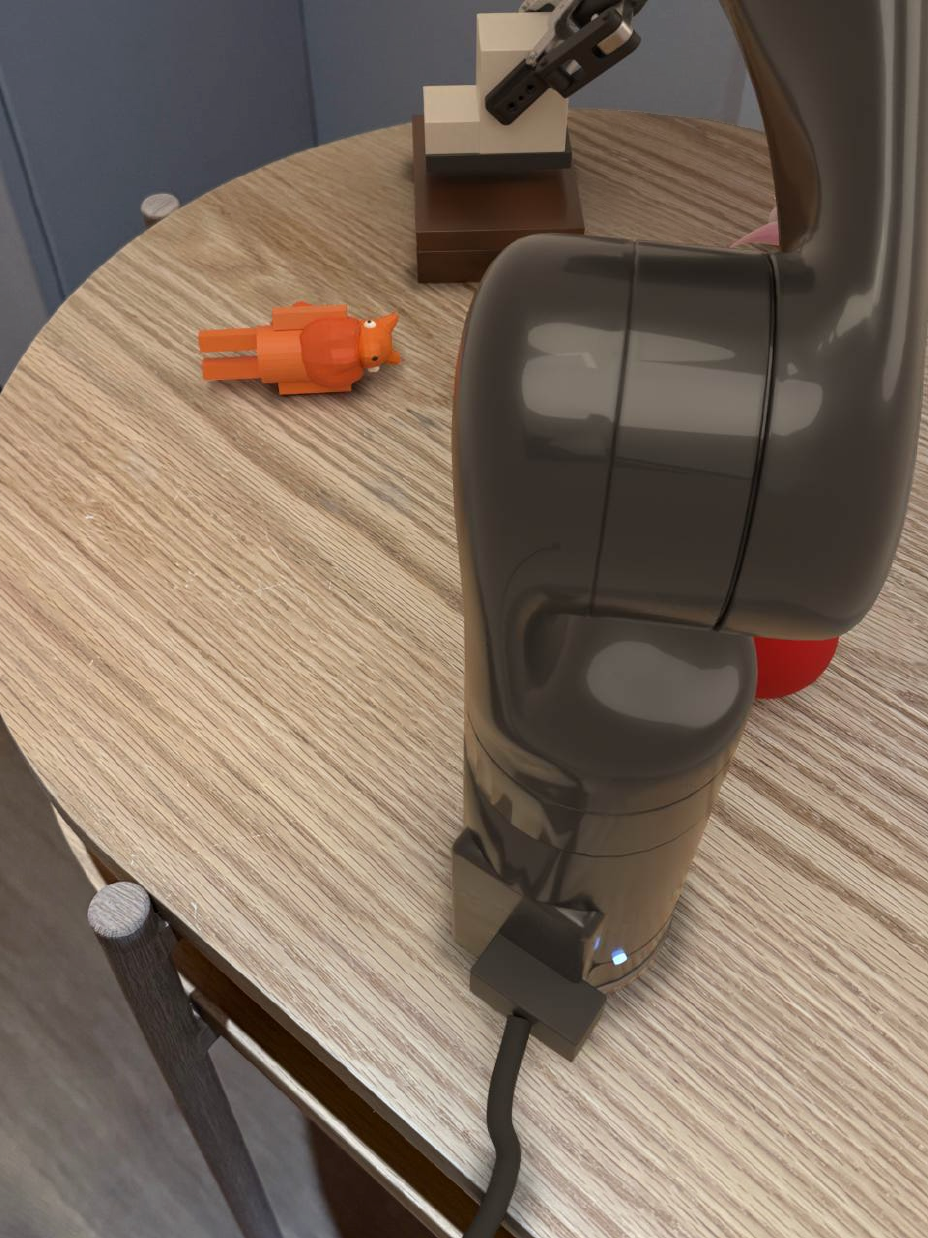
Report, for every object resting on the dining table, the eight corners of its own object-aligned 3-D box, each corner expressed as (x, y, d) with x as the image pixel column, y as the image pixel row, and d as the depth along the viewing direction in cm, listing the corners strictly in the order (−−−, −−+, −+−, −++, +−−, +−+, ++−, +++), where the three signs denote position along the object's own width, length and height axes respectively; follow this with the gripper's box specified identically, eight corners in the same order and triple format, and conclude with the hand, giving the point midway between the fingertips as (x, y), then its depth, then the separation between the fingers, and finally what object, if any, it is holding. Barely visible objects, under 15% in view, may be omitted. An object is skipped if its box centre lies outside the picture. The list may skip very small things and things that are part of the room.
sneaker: (564, 128, 79) (573, 9, 72) (571, 168, 76) (581, 48, 69) (424, 131, 78) (421, 13, 72) (426, 172, 76) (422, 52, 69)
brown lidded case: (560, 161, 86) (564, 110, 83) (580, 278, 78) (585, 227, 74) (413, 164, 86) (411, 114, 82) (417, 283, 77) (415, 232, 74)
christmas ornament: (723, 590, 62) (762, 460, 54) (843, 656, 59) (903, 530, 51) (653, 677, 58) (684, 552, 50) (777, 751, 56) (830, 632, 48)
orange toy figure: (189, 330, 66) (399, 321, 66) (204, 287, 72) (396, 278, 72) (202, 412, 68) (403, 402, 69) (216, 363, 75) (400, 354, 75)
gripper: (771, -12, 63) (539, 192, 72) (724, -122, 71) (522, 73, 80) (690, -118, 58) (454, 114, 68) (650, -222, 67) (445, -3, 76)
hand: (492, 91), depth 74 cm, fingers closed on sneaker, 4 cm apart
